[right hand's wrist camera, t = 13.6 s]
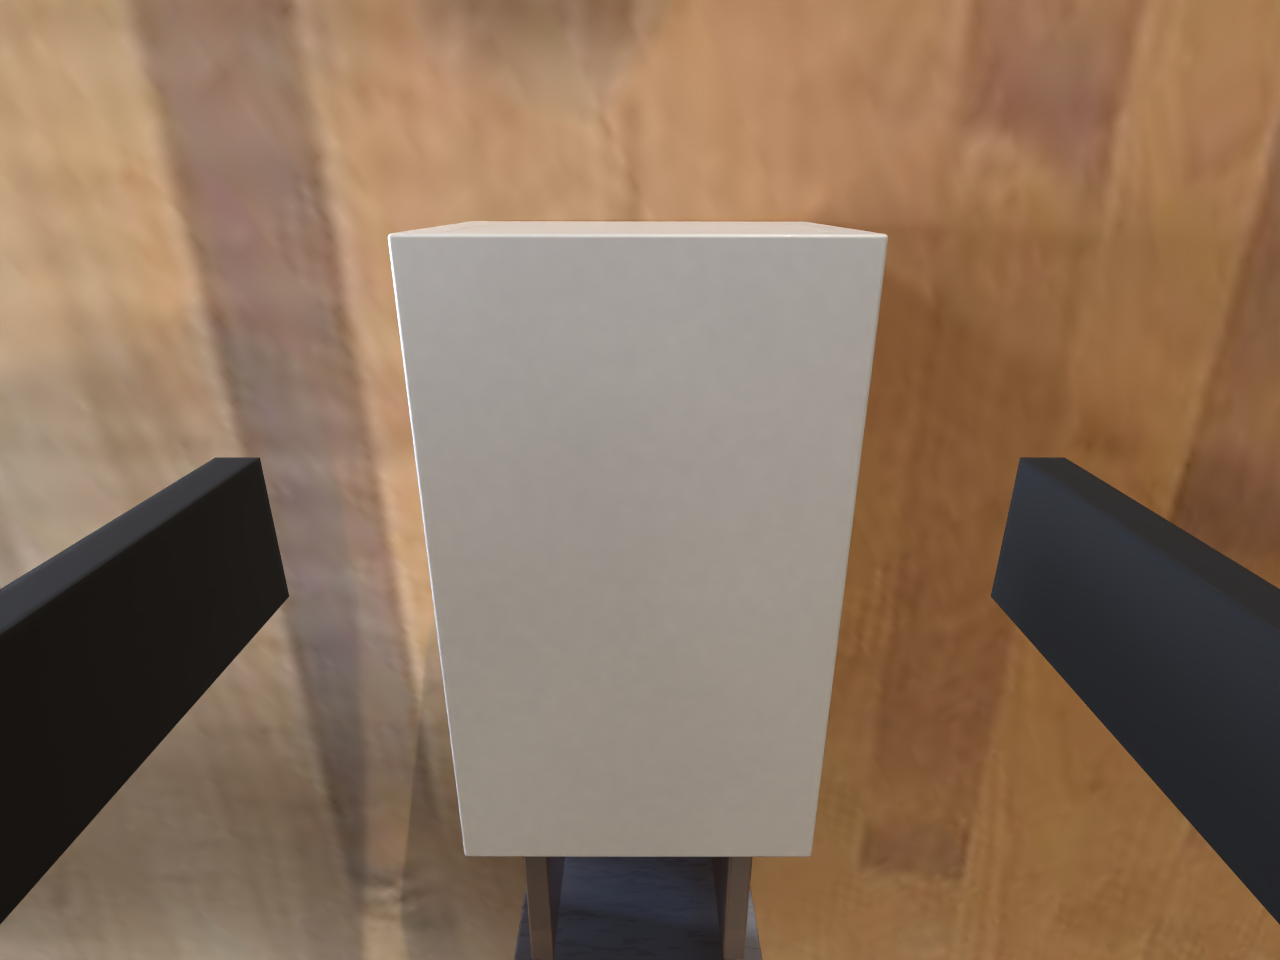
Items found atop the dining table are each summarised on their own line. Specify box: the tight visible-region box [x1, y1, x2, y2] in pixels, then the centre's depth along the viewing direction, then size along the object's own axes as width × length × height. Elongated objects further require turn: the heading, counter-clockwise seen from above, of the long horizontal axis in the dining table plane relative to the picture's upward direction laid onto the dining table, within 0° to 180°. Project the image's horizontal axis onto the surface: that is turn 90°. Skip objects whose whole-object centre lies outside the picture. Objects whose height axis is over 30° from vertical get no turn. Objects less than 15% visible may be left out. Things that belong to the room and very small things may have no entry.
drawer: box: [514, 857, 762, 960], centre depth 27 cm, size 23×10×6 cm, turn 0°
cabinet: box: [388, 221, 888, 857], centre depth 23 cm, size 18×11×8 cm, turn 0°
